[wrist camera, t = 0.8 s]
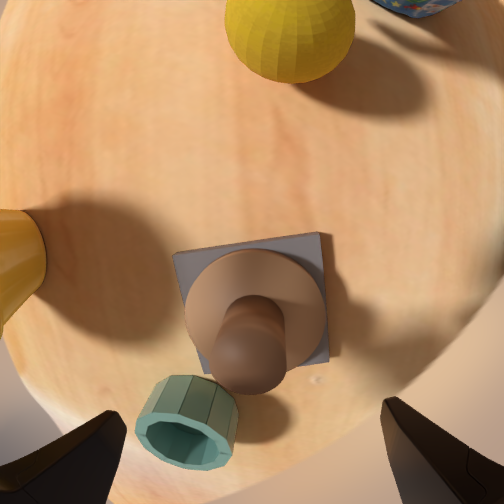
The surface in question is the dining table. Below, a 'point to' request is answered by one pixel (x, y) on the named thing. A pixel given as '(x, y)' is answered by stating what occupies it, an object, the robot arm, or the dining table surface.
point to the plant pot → (19, 261)
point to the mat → (294, 246)
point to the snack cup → (417, 6)
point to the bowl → (189, 423)
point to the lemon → (290, 36)
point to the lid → (254, 318)
